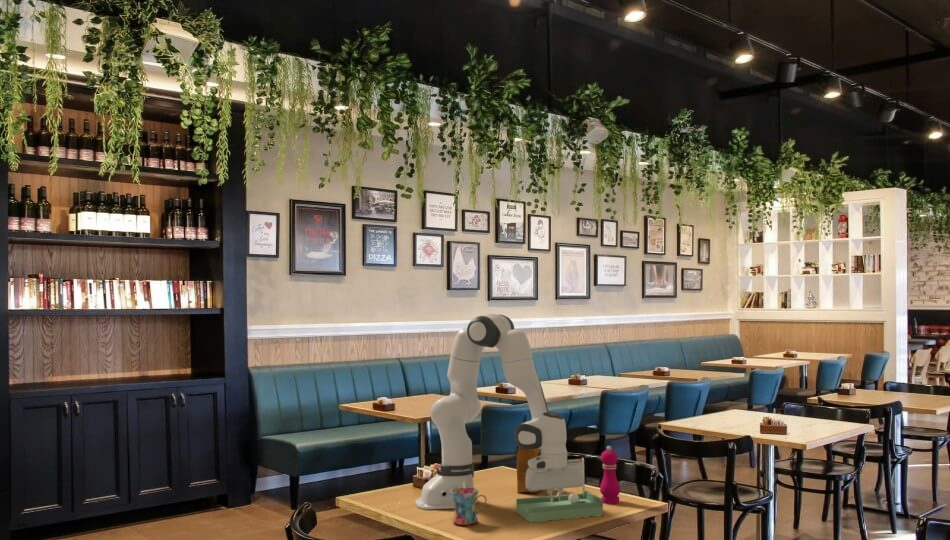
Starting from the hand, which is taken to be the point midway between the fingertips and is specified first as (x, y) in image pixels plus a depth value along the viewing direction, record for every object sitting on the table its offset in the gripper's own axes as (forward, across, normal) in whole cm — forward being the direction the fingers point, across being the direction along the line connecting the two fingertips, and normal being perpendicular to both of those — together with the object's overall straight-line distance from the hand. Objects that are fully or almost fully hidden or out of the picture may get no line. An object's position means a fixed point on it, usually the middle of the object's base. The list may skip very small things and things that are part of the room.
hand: (555, 501), depth 277 cm
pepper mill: (+4, -24, -10) cm, 26 cm away
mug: (+4, +31, +1) cm, 31 cm away
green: (+4, -1, 0) cm, 5 cm away
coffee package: (+4, -3, -35) cm, 36 cm away
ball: (0, -7, 0) cm, 7 cm away
